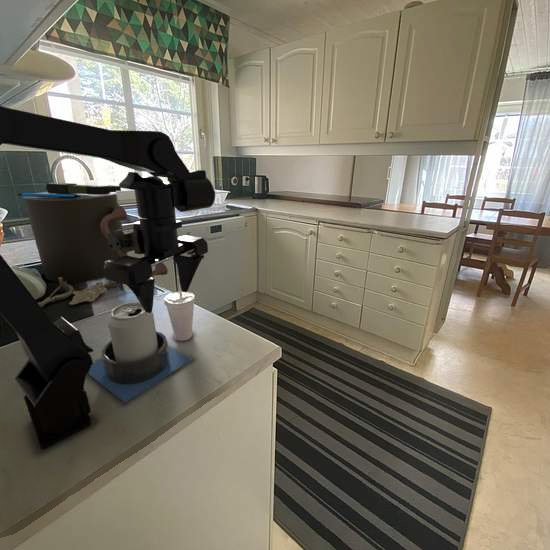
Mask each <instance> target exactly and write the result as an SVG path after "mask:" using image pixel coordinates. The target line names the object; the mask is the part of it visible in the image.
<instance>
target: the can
mask: <svg viewBox="0 0 550 550" xmlns="http://www.w3.org/2000/svg"><path fill="white" fill-rule="evenodd" d="M155 323H156V321H155V315H154V312H153V311H152V312H151V313H147V312H146V311H145V310H144V308H143V307H142V305H141V304H140V302H139V301H131V302H125V303H122V304H121V303H120V304H118V305H117V306H114V307H113V308H112V310H111V311H110V316H109V317H108V319H107V324H108V329H109V335H110V340H112V345H113V350H114V355H115V360H116V362H123V363H124V362H134V361H138V360H142V359H145V358H147V357H149V356H152V355H153V354H154V353H156V352H157V351H158V343H157V336H156V331H157V329H156V324H155Z"/></svg>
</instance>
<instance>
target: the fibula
mask: <svg viewBox="0 0 550 550" xmlns="http://www.w3.org/2000/svg"><path fill="white" fill-rule="evenodd" d="M58 280H59V282H58V283H59V286H57V288H55V289H54V291H52V293H51V294H50V295H49V296H47V297H46V298H45V299H43V301H39V302H37V303H38V304H39V305H40V307H41V308H42V309H43V308H44V306H45V305H46V304H49V303H54V302H56V301H61V300H66V299H68V298H70V297H72V295H74V294H73V292H74V291H75V288H74V287H73V286H72V285H70V284H69V283H66V281H65V282H64V281H63V278H62V277H59V278H58ZM58 291H60V292H64V293H61V294H57V295H55V293H56V292H58ZM53 295H54V296H53Z"/></svg>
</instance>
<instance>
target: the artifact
mask: <svg viewBox="0 0 550 550" xmlns="http://www.w3.org/2000/svg"><path fill="white" fill-rule="evenodd" d="M99 283H100V282H99ZM102 283H103V282H102ZM102 283H100V284H97V285H95V284H92V285H89V286H88V287H85V288H84V289H83V290H74V292H73V294H72V295H74V296H73V297H72V300H71V301H69V305H70V306H74V305H77V304H81V303H85V302H90V303H93V302H95V301H96V299H97V298H99V296H100V295H101V294H105V292H107V291H108V288H105V287H104V283H103V284H102Z"/></svg>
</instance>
